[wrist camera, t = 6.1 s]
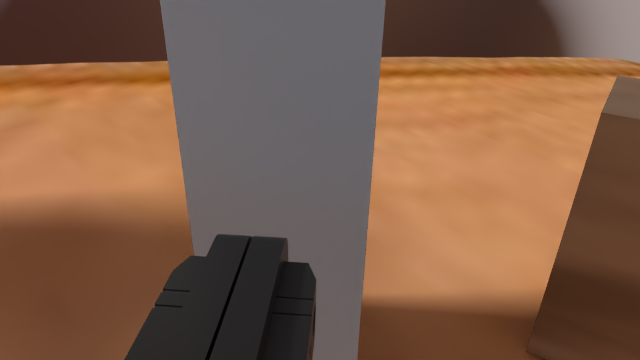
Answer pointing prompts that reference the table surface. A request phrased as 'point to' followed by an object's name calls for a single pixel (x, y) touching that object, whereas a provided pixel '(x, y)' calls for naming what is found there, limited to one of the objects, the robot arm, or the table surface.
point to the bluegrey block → (282, 135)
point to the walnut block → (599, 247)
